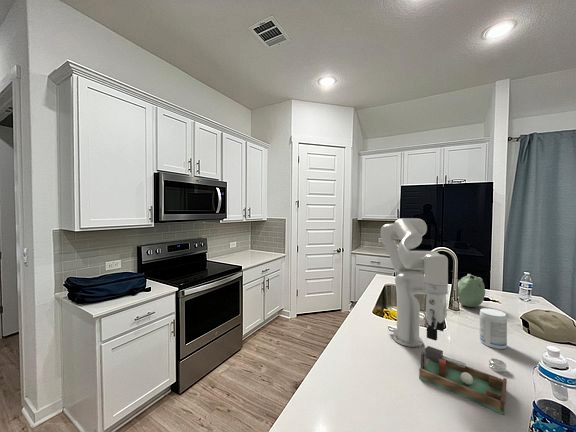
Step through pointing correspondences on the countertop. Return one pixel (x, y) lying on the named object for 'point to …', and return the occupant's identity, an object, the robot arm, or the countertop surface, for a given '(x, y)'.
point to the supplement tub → (493, 328)
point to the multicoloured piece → (441, 359)
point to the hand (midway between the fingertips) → (435, 334)
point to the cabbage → (471, 291)
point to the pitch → (481, 391)
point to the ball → (466, 378)
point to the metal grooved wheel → (497, 365)
